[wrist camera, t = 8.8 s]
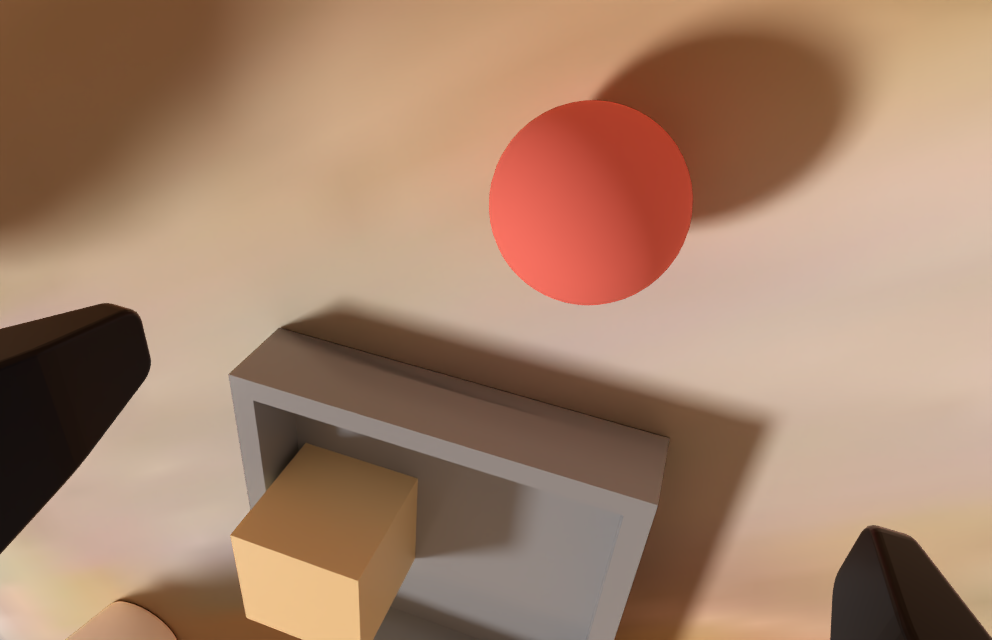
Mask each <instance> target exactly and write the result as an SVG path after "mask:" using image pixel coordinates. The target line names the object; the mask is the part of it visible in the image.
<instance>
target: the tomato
mask: <svg viewBox="0 0 992 640" xmlns="http://www.w3.org/2000/svg"><path fill="white" fill-rule="evenodd" d="M692 204H693V193H692V183H691V179H690V175H689V171H688V168H687V166H686V163H685V161H684V158H683V156H682V154H681V152H680V150H679V149H678V147H677V145H676V144H675V142H674V141H673V140H672V138H671V137H670V136H669V134H668V133H667V132H666V131H665V130H664V129H663V128H662V127H661V126H660V125H659V124H657V123H656V122H655V121H653V120H652V119H651V118H649V117H648V116H646V115H644V114H643V113H641V112H639V111H637V110H635V109H633V108H630V107H628V106H625V105H622V104H618V103H614V102H609V101H600V100H588V101H579V102H573V103H568V104H565V105H562V106H558V107H555V108H553V109H551V110H549V111H547V112H545V113H543V114H541V115H540V116H538V117H537V118H535V119H534V120H532V121H531V122H529V123H528V124H527V125H526V126H525V127H524V128H522V129H521V130H520V131H519V132H518V133H517V135H516V136H515V137H514V138H513V139H512V140H511V142H510V143H509V145H508V146H507V148H506V149H505V151H504V152H503V154H502V156H501V158H500V160H499V162H498V164H497V166H496V169H495V173H494V176H493V179H492V182H491V188H490V195H489V214H490V223H491V227H492V231H493V235H494V237H495V240H496V243H497V245H498V248H499V250H500V252H501V254H502V255H503V257H504V259H505V260H506V262H507V263H508V265H509V266H510V267H511V269H512V270H513V271H514V272H515V273H516V274H517V275H518V276H519V277H520V278H521V279H522V280H523V281H524V282H525V283H527V284H528V285H529V286H531V287H532V288H534V289H535V290H537V291H539V292H540V293H542V294H544V295H546V296H548V297H551V298H553V299H556V300H559V301H562V302H566V303H571V304H577V305H599V304H606V303H611V302H615V301H619V300H622V299H625V298H627V297H630V296H632V295H634V294H636V293H638V292H639V291H641V290H643V289H644V288H646V287H648V286H649V285H650V284H652V283H653V282H654V281H655V280H657V279H658V278H659V277H660V276H661V275H662V274H663V273H664V272H665V271H666V270H667V268H668V267H669V266H670V265H671V263H672V262H673V261H674V259H675V258H676V256H677V255H678V253H679V251H680V249H681V247H682V246H683V244H684V241H685V238H686V236H687V233H688V230H689V227H690V222H691V217H692Z"/></svg>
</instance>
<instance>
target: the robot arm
mask: <svg viewBox="0 0 992 640" xmlns="http://www.w3.org/2000/svg"><path fill="white" fill-rule="evenodd" d="M150 366H151V358H150V354H149V350H148V345H147V341H146V337H145V333H144V329H143V324H142V321H141V318H140V316H139V315H138V314H137V312H135V311H134V310H131V309H128V308H125V307H121V306H118V305H115V304H109V303H103V304H98V305H94V306H90V307H86V308H82V309H78V310H74V311H70V312H66V313H62V314H58V315H54V316H50V317H46V318H42V319H38V320H34V321H30V322H26V323H22V324H18V325H14V326H10V327H6V328H2V329H0V554H1V553H2V552H3V551H4V550H5V548H6V547H7V546H8V545H9V544H10V543H11V542H12V541H13V540H14V539H15V538H16V536H17V535H18V534H19V533H20V532H21V531H22V530H23V529H24V528H25V527H26V525H27V524H28V523H29V522H30V521H31V520H32V519H33V518H34V517H35V516H36V514H37V513H38V512H39V511H40V510H41V509H42V508H43V507H44V506H45V505H46V503H47V502H48V501H49V500H50V499H51V498H52V497H53V496H54V495H55V494H56V492H57V491H58V490H59V489H60V488H61V487H62V486H63V485H64V484H65V482H66V481H67V480H68V479H69V478H70V477H71V476H72V474H73V473H74V472H75V471H76V470H77V469H78V467H79V466H80V465H81V464H82V462H83V461H84V460H85V459H86V457H87V456H88V455H89V453H90V452H91V451H92V449H93V448H94V447H95V445H96V444H97V443H98V441H99V440H100V439H101V437H102V436H103V435H104V433H105V432H106V431H107V429H108V428H109V427H110V425H111V424H112V423H113V422H114V420H115V419H116V418H117V416H118V415H119V414H120V412H121V411H122V410H123V408H124V407H125V406H126V404H127V403H128V402H129V400H130V399H131V398H132V396H133V395H134V394H135V392H136V391H137V390H138V388H139V387H140V386H141V384H142V383H143V382H144V380H145V379H146V377H147V375H148V373H149V370H150ZM830 640H992V638H991V636H990V635H989V634H988V632H987V631H986V630H985V629H984V627H983V626H982V625H981V623H980V622H979V621H978V620H977V618H976V617H975V616H974V614H973V613H972V612H971V611H970V609H969V608H968V607H967V605H966V604H965V603H964V602H963V600H962V599H961V598H960V596H959V595H958V594H957V593H956V591H955V590H954V589H953V587H952V586H951V585H950V584H949V582H948V581H947V580H946V578H945V577H944V576H943V575H942V573H941V572H940V571H939V569H938V568H937V567H936V566H935V564H934V563H933V562H932V560H931V559H930V558H929V557H928V555H927V554H926V553H925V551H924V550H923V549H922V548H921V546H920V545H919V544H918V543H917V541H916V540H915V539H913V538H912V537H911V536H909V535H907V534H904V533H900V532H897V531H893V530H890V529H887V528H883V527H880V526H876V525H872V526H868V527H866V528H865V529H864V530H863V531H862V532H861V534H860V535H859V537H858V539H857V541H856V542H855V544H854V546H853V547H852V549H851V551H850V552H849V554H848V556H847V558H846V559H845V561H844V563H843V564H842V566H841V568H840V569H839V571H838V573H837V576H836V579H835V583H834V587H833V596H832V617H831V637H830Z"/></svg>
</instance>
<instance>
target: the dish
mask: <svg viewBox="0 0 992 640" xmlns="http://www.w3.org/2000/svg"><path fill="white" fill-rule="evenodd" d="M228 375H229V381H230V387H231V393H232V400H233V406H234V412H235V418H236V424H237V430H238V437H239V443H240V449H241V455H242V461H243V467H244V474H245V480H246V486H247V492H248V498H249V504H250V510H251V509H252V508H253V507H254V505H255V504H256V503H257V502H258V501H259V499H260V498H261V497H262V496H263V494H264V493H265V492H266V491H267V490H268V488H269V487H270V486H271V485H272V483H273V482H274V481H275V480H276V479H277V477H278V476H279V475H280V474H281V472H282V471H283V470H284V469H285V468H286V466H287V465H288V464H289V463H290V461H291V460H292V459H293V458H294V457H295V455H296V454H297V453H298V452H299V450H300V449H301V448H302V447H303V446H304V444H305V443H308V444H311V445H314V446H317V447H320V448H324V449H327V450H330V451H333V452H336V453H339V454H342V455H346V456H349V457H352V458H355V459H358V460H361V461H364V462H368V463H371V464H374V465H377V466H380V467H383V468H386V469H390V470H393V471H396V472H399V473H402V474H405V475H408V476H412V477H415V478H418V489H417V518H416V546H415V560H414V562H413V563H412V565H411V567H410V569H409V571H408V573H407V575H406V577H405V579H404V581H403V583H402V585H401V587H400V589H399V591H398V592H397V594H396V596H395V598H394V600H393V602H392V604H391V606H390V608H389V610H388V612H387V614H386V616H385V618H384V620H383V621H382V623H381V625H380V627H379V629H378V631H377V633H376V635H375V637H374V639H373V640H614V639H615V636H616V632H617V629H618V626H619V623H620V620H621V617H622V614H623V611H624V608H625V605H626V602H627V599H628V596H629V593H630V590H631V587H632V583H633V580H634V577H635V574H636V571H637V568H638V565H639V562H640V559H641V556H642V553H643V550H644V547H645V544H646V541H647V538H648V535H649V531H650V528H651V525H652V522H653V519H654V516H655V513H656V510H657V507H658V503H659V497H660V491H661V485H662V479H663V474H664V468H665V462H666V456H667V451H668V445H669V439H670V438H666V437H663V436H659V435H656V434H652V433H649V432H645V431H642V430H638V429H635V428H631V427H628V426H624V425H621V424H617V423H614V422H610V421H606V420H603V419H599V418H596V417H592V416H589V415H585V414H582V413H578V412H575V411H571V410H568V409H564V408H561V407H557V406H553V405H550V404H546V403H543V402H539V401H536V400H532V399H529V398H525V397H522V396H518V395H515V394H511V393H508V392H504V391H501V390H497V389H493V388H490V387H486V386H483V385H479V384H476V383H472V382H469V381H465V380H462V379H458V378H455V377H451V376H448V375H444V374H440V373H437V372H433V371H430V370H426V369H423V368H419V367H416V366H412V365H409V364H405V363H402V362H398V361H395V360H391V359H388V358H384V357H380V356H377V355H373V354H370V353H366V352H363V351H359V350H356V349H352V348H349V347H345V346H342V345H338V344H335V343H331V342H327V341H324V340H320V339H317V338H313V337H310V336H306V335H303V334H299V333H296V332H292V331H289V330H285V329H282V328H278V329H277V330H276V331H275V332H274V333H273V334H272V335H271V336H270V337H269V338H267V339H266V340H265V341H264V342H263V343H262V344H261V345H260V346H259V347H258V348H257V349H256V350H254V351H253V352H252V353H251V354H250V355H249V356H248V357H247V358H246V359H245V360H244V361H243V362H241V363H240V364H239V365H238V366H237V367H236V368H235V369H234V370H233V371H232V372H231V373H229V374H228Z"/></svg>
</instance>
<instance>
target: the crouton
mask: <svg viewBox="0 0 992 640" xmlns="http://www.w3.org/2000/svg"><path fill="white" fill-rule="evenodd" d="M417 489H418V478H415V477H412V476H408V475H405V474H402V473H399V472H396V471H393V470H390V469H386V468H383V467H380V466H377V465H374V464H371V463H368V462H364V461H361V460H358V459H355V458H352V457H349V456H346V455H342V454H339V453H336V452H333V451H330V450H327V449H324V448H320V447H317V446H314V445H311V444H308V443H305V444H304V446H303V447H302V448H301V449H300V450H299V452H298V453H297V454H296V455H295V457H294V458H293V459H292V460H291V461H290V463H289V464H288V465H287V466H286V468H285V469H284V470H283V471H282V472H281V474H280V475H279V476H278V477H277V479H276V480H275V481H274V482H273V483H272V485H271V486H270V487H269V488H268V490H267V491H266V492H265V493H264V494H263V496H262V497H261V498H260V499H259V501H258V502H257V503H256V504H255V505H254V507H253V508H252V509H251V510H250V512H249V513H248V514H247V515H246V516H245V518H244V519H243V520H242V521H241V523H240V524H239V525H238V526H237V527H236V529H235V530H234V531H233V532H232V534H231V535H230V536H231V542H232V547H233V552H234V557H235V562H236V567H237V572H238V577H239V583H240V588H241V593H242V598H243V603H244V608H245V613H246V618H248V619H251V620H253V621H256V622H258V623H261V624H263V625H266V626H269V627H271V628H274V629H276V630H279V631H282V632H284V633H287V634H289V635H292V636H294V637H297V638H300V639H302V640H373V639H374V637H375V635H376V633H377V631H378V629H379V627H380V625H381V623H382V621H383V620H384V618H385V616H386V614H387V612H388V610H389V608H390V606H391V604H392V602H393V600H394V598H395V596H396V594H397V592H398V591H399V589H400V587H401V585H402V583H403V581H404V579H405V577H406V575H407V573H408V571H409V569H410V567H411V565H412V563H413V562H414V560H415V546H416V518H417Z"/></svg>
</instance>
